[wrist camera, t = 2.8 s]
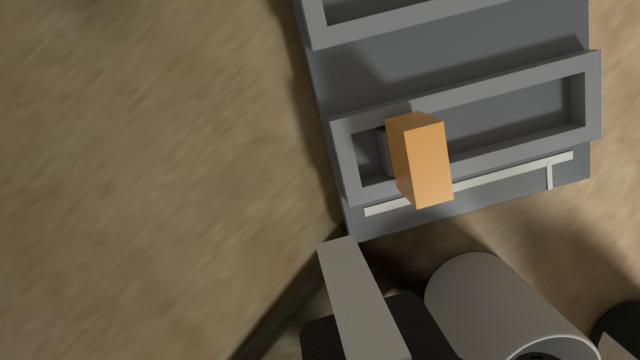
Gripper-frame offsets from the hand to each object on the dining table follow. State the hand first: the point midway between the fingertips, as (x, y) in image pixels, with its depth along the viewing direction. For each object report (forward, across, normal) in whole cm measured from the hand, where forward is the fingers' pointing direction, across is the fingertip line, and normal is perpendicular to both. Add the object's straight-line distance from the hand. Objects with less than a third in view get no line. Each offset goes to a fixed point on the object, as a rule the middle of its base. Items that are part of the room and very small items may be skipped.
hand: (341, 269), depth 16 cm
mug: (+17, +10, -17) cm, 26 cm away
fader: (+14, +7, 0) cm, 16 cm away
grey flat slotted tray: (+16, +12, +6) cm, 21 cm away
